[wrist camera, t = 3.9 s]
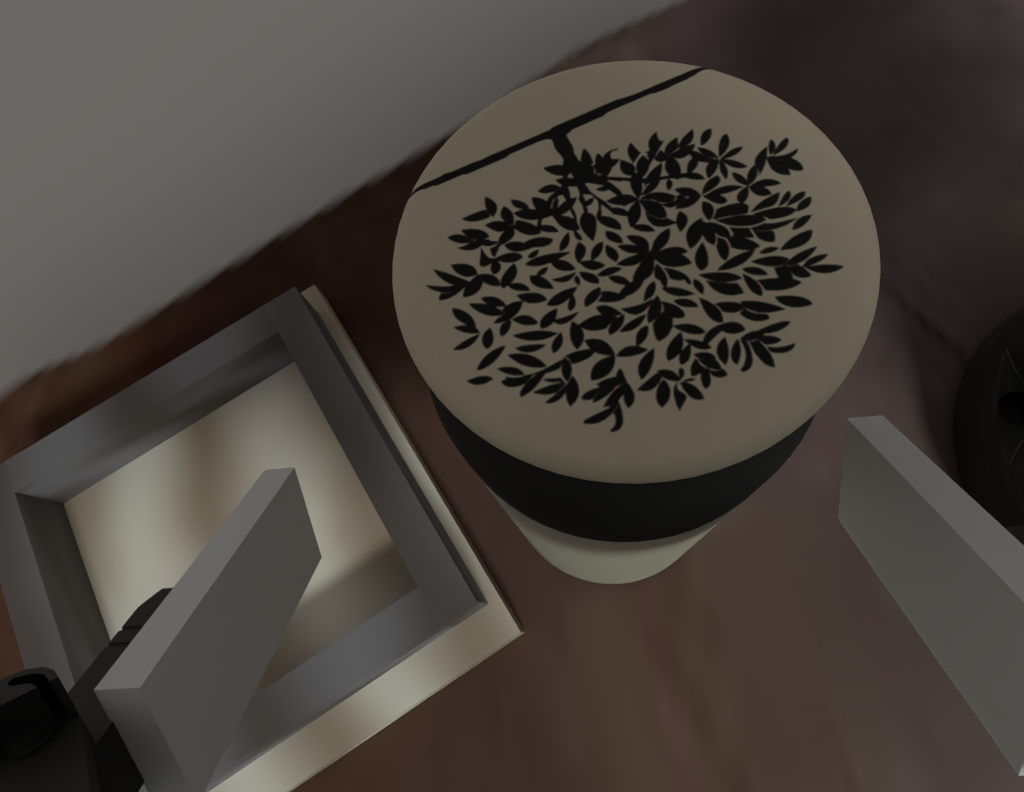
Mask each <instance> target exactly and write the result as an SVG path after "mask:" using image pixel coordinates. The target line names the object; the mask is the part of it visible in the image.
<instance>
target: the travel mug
mask: <svg viewBox="0 0 1024 792" xmlns="http://www.w3.org/2000/svg"><path fill="white" fill-rule="evenodd" d="M880 272H881V268H880V248H879V242H878V236H877V230H876V225H875V222H874V219H873V215H872V212H871V208H870V205H869V203H868V201H867V198H866V196H865V194H864V191H863V189H862V186H861V185H860V183H859V181H858V179H857V177H856V176H855V174H854V172H853V170H852V169H851V167H850V166H849V164H848V163H847V161H846V160H845V159H844V157H843V156H842V154H841V153H840V151H839V150H838V149H837V148H836V147H835V146H834V144H833V143H832V142H831V141H830V140H829V139H828V138H827V136H826V135H825V134H824V133H823V132H822V131H821V130H820V129H818V128H817V127H816V126H815V125H814V124H813V123H812V122H811V121H810V120H809V119H807V118H806V117H805V116H804V115H802V114H801V113H800V112H798V111H797V110H796V109H795V108H793V107H792V106H790V105H789V104H787V103H786V102H784V101H782V100H781V99H779V98H778V97H776V96H775V95H773V94H771V93H769V92H767V91H765V90H763V89H761V88H759V87H757V86H755V85H753V84H751V83H748V82H746V81H743V80H741V79H739V78H736V77H733V76H730V75H727V74H724V73H721V72H718V71H715V70H710V69H706V68H702V67H698V66H693V65H687V64H681V63H674V62H662V61H618V62H608V63H600V64H593V65H588V66H583V67H579V68H574V69H570V70H566V71H563V72H560V73H556V74H553V75H550V76H547V77H544V78H542V79H539V80H537V81H534V82H531V83H529V84H527V85H525V86H523V87H521V88H519V89H516V90H514V91H512V92H511V93H509V94H507V95H505V96H504V97H502V98H500V99H498V100H497V101H495V102H494V103H492V104H491V105H489V106H488V107H486V108H485V109H483V110H482V111H480V112H479V113H478V114H476V115H475V116H474V117H473V118H471V119H470V120H469V121H468V122H467V123H465V124H464V125H463V126H462V127H461V128H460V129H459V130H458V131H457V132H456V133H455V134H454V135H452V136H451V137H450V138H449V139H448V141H447V142H446V143H445V144H444V145H443V146H442V147H441V149H440V150H439V151H438V152H437V153H436V154H435V156H434V157H433V159H432V160H431V161H430V163H429V164H428V166H427V167H426V168H425V170H424V171H423V173H422V175H421V176H420V178H419V180H418V182H417V183H416V185H415V187H414V189H413V191H412V193H411V195H410V197H409V200H408V202H407V204H406V206H405V209H404V212H403V215H402V218H401V221H400V224H399V228H398V233H397V237H396V241H395V248H394V256H393V275H392V284H393V294H394V304H395V309H396V313H397V318H398V323H399V326H400V329H401V332H402V335H403V338H404V341H405V344H406V346H407V348H408V350H409V353H410V355H411V357H412V359H413V361H414V363H415V365H416V367H417V368H418V370H419V372H420V373H421V375H422V377H423V378H424V380H425V382H426V383H427V384H428V386H429V388H430V391H431V395H432V398H433V402H434V405H435V407H436V410H437V412H438V415H439V417H440V420H441V422H442V424H443V426H444V428H445V429H446V431H447V433H448V435H449V437H450V438H451V440H452V441H453V443H454V444H455V446H456V447H457V449H458V450H459V452H460V453H461V454H462V456H463V457H464V458H465V460H466V461H467V462H468V463H469V465H470V466H471V467H472V469H473V470H474V471H475V472H476V474H477V475H478V476H479V478H480V479H481V480H482V481H483V483H484V484H485V485H486V487H487V488H488V489H489V490H490V492H491V493H492V494H493V496H494V497H495V498H496V499H497V501H498V502H499V503H500V505H501V506H502V507H503V508H504V510H505V511H506V512H507V514H508V515H509V516H510V517H511V519H512V520H513V521H514V523H515V524H516V525H517V526H518V528H519V529H520V530H521V532H522V533H523V534H524V535H525V537H526V538H527V539H528V541H529V542H530V543H531V544H532V546H533V547H534V548H535V549H536V550H537V551H538V552H539V553H540V554H541V555H542V556H543V557H544V558H545V559H546V560H547V561H548V562H550V563H551V564H552V565H554V566H555V567H557V568H558V569H560V570H562V571H563V572H565V573H567V574H569V575H572V576H574V577H577V578H579V579H583V580H586V581H590V582H595V583H603V584H621V583H629V582H634V581H638V580H641V579H644V578H647V577H650V576H652V575H654V574H657V573H658V572H660V571H662V570H664V569H665V568H667V567H668V566H669V565H671V564H672V563H674V562H675V561H676V560H677V559H678V558H679V557H680V556H682V555H683V554H684V553H685V552H686V551H687V550H688V549H690V548H691V547H692V546H693V545H694V544H695V543H696V542H698V541H699V540H700V539H701V538H702V537H703V536H704V535H705V534H707V533H708V532H709V531H710V530H711V529H712V528H713V527H715V526H716V525H717V524H718V523H719V522H720V521H721V520H723V519H724V518H725V517H726V516H727V515H728V514H729V513H730V512H732V511H733V510H734V509H735V508H736V507H737V506H738V505H740V504H741V503H742V502H743V501H744V500H745V499H746V498H748V497H749V496H750V495H751V494H752V493H753V492H754V491H755V490H757V489H758V488H759V487H760V486H761V485H762V484H763V483H764V482H766V481H767V480H768V479H769V478H770V477H771V476H772V475H773V474H774V473H775V472H777V471H778V469H779V468H780V467H781V466H782V465H783V464H784V463H785V462H786V460H787V459H788V458H789V457H790V456H791V454H792V453H793V452H794V450H795V449H796V447H797V446H798V444H799V443H800V442H801V440H802V439H803V437H804V435H805V433H806V431H807V429H808V428H809V426H810V424H811V422H812V420H813V417H814V415H815V413H816V412H817V411H818V410H819V409H820V408H821V407H822V406H823V405H824V404H825V403H826V402H827V401H828V400H829V399H830V397H831V396H832V395H833V394H834V392H835V391H836V390H837V388H838V387H839V386H840V385H841V383H842V382H843V381H844V380H845V378H846V376H847V375H848V373H849V372H850V370H851V368H852V367H853V365H854V363H855V362H856V360H857V358H858V356H859V354H860V352H861V350H862V348H863V346H864V343H865V341H866V339H867V337H868V334H869V331H870V328H871V325H872V322H873V318H874V315H875V310H876V305H877V300H878V295H879V285H880Z"/></svg>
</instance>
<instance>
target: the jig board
mask: <svg viewBox="0 0 1024 792" xmlns="http://www.w3.org/2000/svg"><path fill="white" fill-rule="evenodd" d="M291 467H295V470H296V474H297V477H298V480H299V484H300V487H301V490H302V494H303V497H304V500H305V503H306V507H307V510H308V513H309V517H310V520H311V523H312V527H313V530H314V533H315V536H316V540H317V543H318V546H319V550H320V553H321V556H322V558H321V560H320V562H319V564H318V566H317V568H316V570H315V572H314V574H313V576H312V578H311V580H310V582H309V584H308V586H307V588H306V590H305V592H304V594H303V596H302V598H301V600H300V602H299V604H298V606H297V608H296V610H295V612H294V614H293V616H292V618H291V620H290V622H289V624H288V626H287V628H286V630H285V632H284V634H283V636H282V638H281V640H280V642H279V644H278V646H277V648H276V650H275V652H274V654H273V656H272V658H271V660H270V662H269V664H268V666H267V668H266V670H265V672H264V674H263V676H262V678H261V680H260V682H259V684H258V686H257V688H256V690H255V692H254V694H253V696H252V698H251V700H250V702H249V704H248V706H247V708H246V710H245V712H244V714H243V716H242V718H241V720H240V722H239V724H238V726H237V728H236V730H235V732H234V734H233V736H232V738H231V740H230V742H229V744H228V746H227V748H226V750H225V752H224V754H223V756H222V758H221V760H220V762H219V764H218V766H217V768H216V770H215V772H214V774H213V775H212V777H211V779H210V781H209V783H208V785H207V787H206V789H205V791H204V792H290V791H292V790H293V789H295V788H296V787H298V786H299V785H301V784H302V783H304V782H305V781H307V780H308V779H310V778H311V777H313V776H314V775H315V774H317V773H318V772H320V771H321V770H323V769H324V768H326V767H327V766H329V765H330V764H332V763H333V762H335V761H336V760H338V759H339V758H341V757H342V756H343V755H345V754H346V753H348V752H349V751H351V750H352V749H354V748H355V747H357V746H358V745H360V744H361V743H363V742H364V741H366V740H367V739H369V738H370V737H371V736H373V735H374V734H376V733H377V732H379V731H380V730H382V729H383V728H385V727H386V726H388V725H389V724H391V723H392V722H394V721H395V720H396V719H398V718H399V717H401V716H402V715H404V714H405V713H407V712H408V711H410V710H411V709H413V708H414V707H416V706H417V705H419V704H420V703H422V702H423V701H424V700H426V699H427V698H429V697H430V696H432V695H433V694H435V693H436V692H438V691H439V690H441V689H442V688H444V687H445V686H447V685H448V684H450V683H451V682H452V681H454V680H455V679H457V678H458V677H460V676H461V675H463V674H464V673H466V672H467V671H469V670H470V669H472V668H473V667H475V666H476V665H478V664H479V663H480V662H482V661H483V660H485V659H486V658H488V657H489V656H491V655H492V654H494V653H495V652H497V651H498V650H500V649H501V648H503V647H504V646H506V645H507V644H508V643H510V642H511V641H513V640H514V639H516V638H517V637H519V636H520V635H522V634H523V633H525V631H524V629H523V628H522V626H521V624H520V623H519V621H518V619H517V618H516V616H515V614H514V613H513V611H512V609H511V608H510V606H509V604H508V603H507V601H506V599H505V598H504V596H503V594H502V592H501V591H500V589H499V587H498V586H497V584H496V582H495V581H494V579H493V577H492V576H491V574H490V572H489V571H488V569H487V567H486V566H485V564H484V562H483V561H482V559H481V557H480V556H479V554H478V552H477V551H476V549H475V547H474V546H473V544H472V542H471V540H470V539H469V537H468V535H467V534H466V532H465V530H464V529H463V527H462V525H461V524H460V522H459V520H458V519H457V517H456V515H455V514H454V512H453V510H452V509H451V507H450V505H449V504H448V502H447V500H446V499H445V497H444V495H443V494H442V492H441V490H440V489H439V487H438V485H437V483H436V482H435V480H434V478H433V477H432V475H431V473H430V472H429V470H428V468H427V467H426V465H425V463H424V462H423V460H422V458H421V457H420V455H419V453H418V452H417V450H416V448H415V447H414V445H413V443H412V442H411V440H410V438H409V437H408V435H407V433H406V431H405V430H404V428H403V426H402V425H401V423H400V421H399V420H398V418H397V416H396V415H395V413H394V411H393V410H392V408H391V406H390V405H389V403H388V401H387V400H386V398H385V396H384V395H383V393H382V391H381V390H380V388H379V386H378V385H377V383H376V381H375V380H374V378H373V376H372V374H371V373H370V371H369V369H368V368H367V366H366V364H365V363H364V361H363V359H362V358H361V356H360V354H359V353H358V351H357V349H356V348H355V346H354V344H353V343H352V341H351V339H350V338H349V336H348V334H347V333H346V331H345V329H344V328H343V326H342V324H341V322H340V321H339V319H338V317H337V316H336V314H335V312H334V311H333V309H332V307H331V306H330V304H329V302H328V301H327V299H326V298H325V297H324V296H323V294H322V293H321V292H320V291H319V289H318V288H317V287H316V286H315V285H313V286H311V287H309V288H308V289H306V290H304V291H303V292H301V293H300V292H299V291H298V289H297V288H296V287H293V288H291V289H290V290H288V291H286V292H285V293H283V294H281V295H280V296H278V297H276V298H275V299H273V300H271V301H270V302H268V303H266V304H265V305H263V306H261V307H260V308H258V309H257V310H255V311H253V312H252V313H250V314H248V315H247V316H245V317H243V318H242V319H240V320H238V321H237V322H235V323H233V324H232V325H230V326H228V327H227V328H225V329H223V330H222V331H220V332H218V333H217V334H215V335H213V336H212V337H210V338H209V339H207V340H205V341H204V342H202V343H200V344H199V345H197V346H195V347H194V348H192V349H190V350H189V351H187V352H185V353H184V354H182V355H180V356H179V357H177V358H175V359H174V360H172V361H170V362H169V363H167V364H165V365H164V366H162V367H160V368H159V369H157V370H156V371H154V372H152V373H151V374H149V375H147V376H146V377H144V378H142V379H141V380H139V381H137V382H136V383H134V384H132V385H131V386H129V387H127V388H126V389H124V390H122V391H121V392H119V393H117V394H116V395H114V396H112V397H111V398H109V399H107V400H106V401H104V402H103V403H101V404H99V405H98V406H96V407H94V408H93V409H91V410H89V411H88V412H86V413H84V414H83V415H81V416H79V417H78V418H76V419H74V420H73V421H71V422H69V423H68V424H66V425H64V426H63V427H61V428H59V429H58V430H56V431H54V432H53V433H51V434H50V435H48V436H46V437H45V438H43V439H41V440H40V441H38V442H36V443H35V444H33V445H31V446H30V447H28V448H26V449H25V450H23V451H21V452H20V453H18V454H16V455H15V456H13V457H11V458H10V459H8V460H6V461H5V462H3V463H2V464H0V584H1V587H2V591H3V594H4V598H5V601H6V605H7V608H8V612H9V615H10V619H11V622H12V626H13V629H14V633H15V636H16V639H17V643H18V646H19V650H20V653H21V657H22V660H23V664H24V667H25V670H26V669H32V668H39V667H45V668H50V669H54V671H55V672H56V674H57V675H58V677H59V679H60V680H61V682H62V684H63V686H64V688H65V689H66V691H67V693H68V692H69V691H70V690H71V689H72V687H73V686H74V685H75V684H76V682H77V681H78V680H79V679H80V678H81V676H82V675H83V674H84V673H85V671H86V670H87V669H88V668H89V666H90V665H91V664H92V663H93V662H94V660H95V659H96V658H97V657H98V655H99V654H100V653H101V652H102V651H103V649H104V648H106V647H108V646H109V644H108V643H109V642H110V641H111V640H112V638H113V637H114V636H115V635H116V633H117V632H118V631H121V630H122V626H123V625H124V624H125V622H126V621H127V620H128V619H129V618H130V616H131V615H132V614H133V613H134V611H135V610H136V609H137V608H138V607H139V606H140V605H141V604H143V603H144V602H145V601H146V600H148V599H149V598H150V597H152V596H153V595H154V594H156V593H157V592H158V591H159V590H161V589H163V588H173V587H174V586H175V585H176V584H177V582H178V581H179V580H180V578H181V577H182V576H183V575H184V573H185V572H186V571H187V569H188V568H189V567H190V566H191V564H192V563H193V562H194V560H195V559H196V558H197V557H198V555H199V554H200V553H201V551H202V550H203V549H204V548H205V546H206V545H207V544H208V542H209V541H210V540H211V539H212V537H213V536H214V535H215V533H216V532H217V531H218V530H219V528H220V527H221V526H222V524H223V523H224V522H225V521H226V519H227V518H228V517H229V515H230V514H231V513H232V512H233V510H234V509H235V508H236V506H237V505H238V504H239V503H240V501H241V500H242V499H243V497H244V496H245V495H246V494H247V492H248V491H249V490H250V488H251V487H252V486H253V485H254V483H255V482H256V481H257V479H258V478H259V477H260V476H261V474H262V473H263V472H264V470H268V469H279V468H291ZM139 792H148V791H147V789H146V787H145V786H144V784H143V785H142V787H141V789H140V790H139Z"/></svg>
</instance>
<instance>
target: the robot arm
mask: <svg viewBox="0 0 1024 792" xmlns="http://www.w3.org/2000/svg"><path fill="white" fill-rule="evenodd" d="M954 433H955V446H956V452H957V458H958V463H959V467H960V471H961V475H962V478H963V481H964V484H965V487H966V490H967V492H968V494H967V493H966V492H965V491H964V490H963V489H962V488H961V487H960V486H959V485H957V484H956V483H955V482H954V481H953V480H952V479H951V478H950V477H949V476H948V475H947V474H946V473H944V472H943V471H942V470H941V469H940V468H939V467H938V466H937V465H936V464H935V463H934V462H933V461H931V460H930V459H929V458H928V457H927V456H926V455H925V454H924V453H923V452H922V451H921V450H919V449H918V448H917V447H916V446H915V445H914V444H913V443H912V442H911V441H910V440H909V439H908V438H906V437H905V436H904V435H903V434H902V433H901V432H900V431H899V430H898V429H897V428H896V427H895V426H893V425H892V424H891V423H890V422H889V421H888V420H887V419H886V418H885V417H884V416H883V415H881V416H869V417H858V418H847V426H846V437H845V448H844V459H843V470H842V481H841V491H840V502H839V513H838V520H839V521H840V523H841V524H842V526H843V527H844V528H845V530H846V531H847V533H848V534H849V536H850V537H851V538H852V540H853V541H854V543H855V544H856V545H857V547H858V548H859V550H860V551H861V553H862V554H863V555H864V557H865V558H866V560H867V561H868V563H869V564H870V565H871V567H872V568H873V570H874V571H875V572H876V574H877V575H878V577H879V578H880V580H881V581H882V582H883V584H884V585H885V587H886V588H887V589H888V591H889V592H890V594H891V595H892V597H893V598H894V599H895V601H896V602H897V604H898V605H899V607H900V608H901V609H902V611H903V612H904V614H905V615H906V616H907V618H908V619H909V621H910V622H911V624H912V625H913V626H914V628H915V629H916V631H917V632H918V633H919V635H920V636H921V638H922V639H923V641H924V642H925V643H926V645H927V646H928V648H929V649H930V651H931V652H932V653H933V655H934V656H935V658H936V659H937V660H938V662H939V663H940V665H941V666H942V668H943V669H944V670H945V672H946V673H947V675H948V676H949V678H950V679H951V680H952V682H953V683H954V685H955V686H956V687H957V689H958V690H959V692H960V693H961V695H962V696H963V697H964V699H965V700H966V702H967V703H968V704H969V706H970V707H971V709H972V710H973V712H974V713H975V714H976V716H977V717H978V719H979V720H980V722H981V723H982V724H983V726H984V727H985V729H986V730H987V731H988V733H989V734H990V736H991V737H992V739H993V740H994V741H995V743H996V744H997V746H998V747H999V748H1000V750H1001V751H1002V753H1003V754H1004V756H1005V757H1006V758H1007V760H1008V761H1009V763H1010V764H1011V766H1012V767H1013V768H1014V770H1015V771H1016V773H1017V774H1018V775H1019V776H1024V306H1023V307H1022V308H1021V309H1019V310H1018V311H1017V312H1015V313H1014V314H1013V315H1011V316H1010V317H1009V318H1008V319H1006V320H1005V321H1004V322H1002V323H1001V324H1000V325H999V326H998V327H997V328H996V329H995V330H994V331H993V332H992V333H991V334H990V335H989V336H988V337H987V338H986V339H985V341H984V342H983V343H982V344H981V346H980V347H979V348H978V350H977V351H976V353H975V355H974V356H973V358H972V359H971V361H970V363H969V365H968V367H967V369H966V372H965V374H964V377H963V379H962V382H961V385H960V389H959V392H958V397H957V402H956V409H955V424H954ZM321 558H322V556H321V553H320V550H319V546H318V543H317V540H316V536H315V533H314V530H313V527H312V523H311V520H310V517H309V513H308V510H307V507H306V503H305V500H304V497H303V494H302V490H301V487H300V484H299V480H298V477H297V474H296V470H295V467H291V468H279V469H268V470H264V472H263V473H262V474H261V476H260V477H259V478H258V479H257V481H256V482H255V483H254V485H253V486H252V487H251V488H250V490H249V491H248V492H247V494H246V495H245V496H244V497H243V499H242V500H241V501H240V503H239V504H238V505H237V506H236V508H235V509H234V510H233V512H232V513H231V514H230V515H229V517H228V518H227V519H226V521H225V522H224V523H223V524H222V526H221V527H220V528H219V530H218V531H217V532H216V533H215V535H214V536H213V537H212V539H211V540H210V541H209V542H208V544H207V545H206V546H205V548H204V549H203V550H202V551H201V553H200V554H199V555H198V557H197V558H196V559H195V560H194V562H193V563H192V564H191V566H190V567H189V568H188V569H187V571H186V572H185V573H184V575H183V576H182V577H181V578H180V580H179V581H178V582H177V584H176V585H175V586H174V587H173V588H163V589H161V590H159V591H158V592H157V593H156V594H154V595H153V596H152V597H150V598H149V599H148V600H146V601H145V602H144V603H143V604H141V605H140V606H139V607H138V608H137V609H136V610H135V611H134V613H133V614H132V615H131V616H130V618H129V619H128V620H127V621H126V622H125V624H124V625H123V626H122V630H121V631H118V632H117V633H116V635H115V636H114V637H113V638H112V640H111V641H110V642H109V643H108V644H109V646H108V647H106V648H104V649H103V651H102V652H101V653H100V654H99V655H98V657H97V658H96V659H95V660H94V662H93V663H92V664H91V665H90V666H89V668H88V669H87V670H86V671H85V673H84V674H83V675H82V676H81V678H80V679H79V680H78V681H77V682H76V684H75V685H74V686H73V687H72V689H71V690H70V691H69V692H68V693H67V691H66V689H65V688H64V686H63V684H62V682H61V680H60V679H59V677H58V675H57V674H56V672H55V671H54V669H50V668H45V667H39V668H32V669H26V670H23V671H21V672H18V673H15V674H13V675H10V676H8V677H6V678H4V679H2V680H1V681H0V792H139V790H140V789H141V787H142V785H143V784H144V786H145V787H146V789H147V791H148V792H204V791H205V789H206V787H207V785H208V783H209V781H210V779H211V777H212V775H213V774H214V772H215V770H216V768H217V766H218V764H219V762H220V760H221V758H222V756H223V754H224V752H225V750H226V748H227V746H228V744H229V742H230V740H231V738H232V736H233V734H234V732H235V730H236V728H237V726H238V724H239V722H240V720H241V718H242V716H243V714H244V712H245V710H246V708H247V706H248V704H249V702H250V700H251V698H252V696H253V694H254V692H255V690H256V688H257V686H258V684H259V682H260V680H261V678H262V676H263V674H264V672H265V670H266V668H267V666H268V664H269V662H270V660H271V658H272V656H273V654H274V652H275V650H276V648H277V646H278V644H279V642H280V640H281V638H282V636H283V634H284V632H285V630H286V628H287V626H288V624H289V622H290V620H291V618H292V616H293V614H294V612H295V610H296V608H297V606H298V604H299V602H300V600H301V598H302V596H303V594H304V592H305V590H306V588H307V586H308V584H309V582H310V580H311V578H312V576H313V574H314V572H315V570H316V568H317V566H318V564H319V562H320V560H321Z"/></svg>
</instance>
